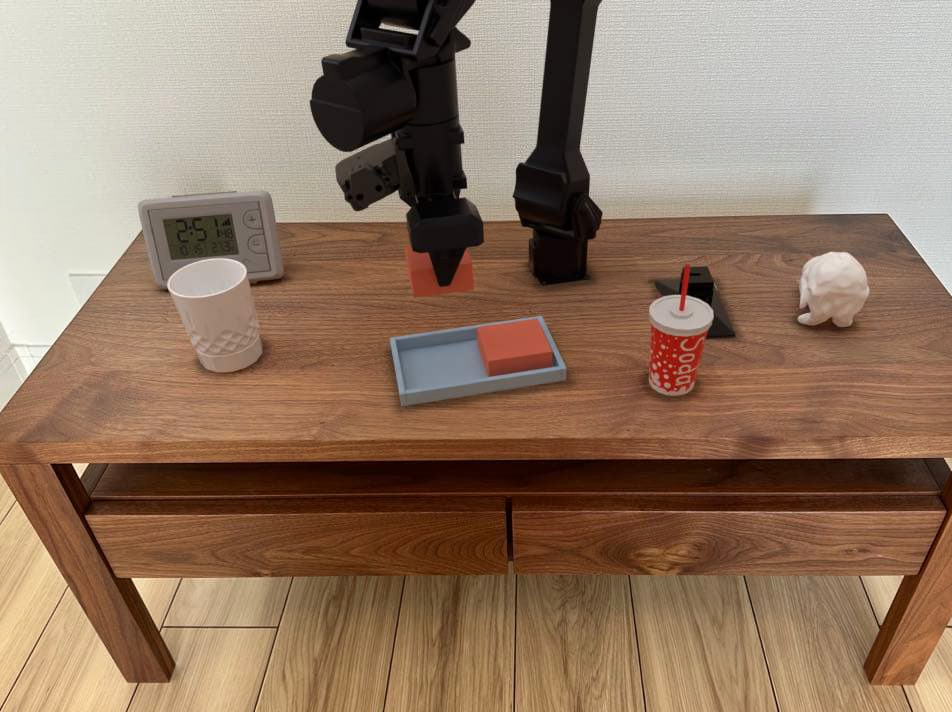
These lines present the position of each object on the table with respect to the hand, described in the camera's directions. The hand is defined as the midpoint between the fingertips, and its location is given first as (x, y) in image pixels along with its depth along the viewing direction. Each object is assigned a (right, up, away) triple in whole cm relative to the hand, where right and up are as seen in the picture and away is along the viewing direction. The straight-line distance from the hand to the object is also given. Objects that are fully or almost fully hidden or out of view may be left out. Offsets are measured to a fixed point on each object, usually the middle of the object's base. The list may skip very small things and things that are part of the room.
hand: (440, 272), depth 76 cm
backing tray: (+3, -9, +6) cm, 11 cm away
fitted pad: (+7, -8, +6) cm, 13 cm away
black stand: (+29, -2, +14) cm, 32 cm away
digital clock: (-30, +3, +22) cm, 37 cm away
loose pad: (0, -1, +1) cm, 1 cm away
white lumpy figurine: (+43, -2, +13) cm, 45 cm away
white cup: (-24, -8, +9) cm, 27 cm away
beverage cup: (+24, -11, +3) cm, 26 cm away
